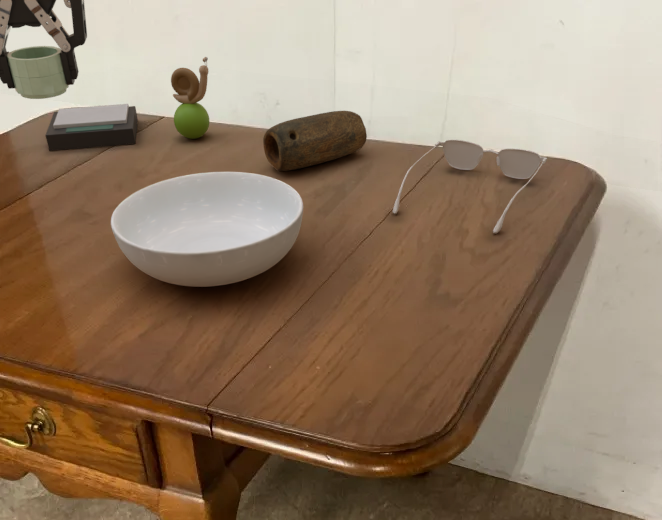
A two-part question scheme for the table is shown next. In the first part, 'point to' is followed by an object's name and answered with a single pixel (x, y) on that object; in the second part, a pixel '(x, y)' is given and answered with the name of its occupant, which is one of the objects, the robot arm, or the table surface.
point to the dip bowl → (37, 72)
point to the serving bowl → (208, 227)
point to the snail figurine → (190, 101)
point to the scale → (92, 127)
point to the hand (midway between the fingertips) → (41, 84)
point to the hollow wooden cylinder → (313, 139)
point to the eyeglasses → (471, 154)
